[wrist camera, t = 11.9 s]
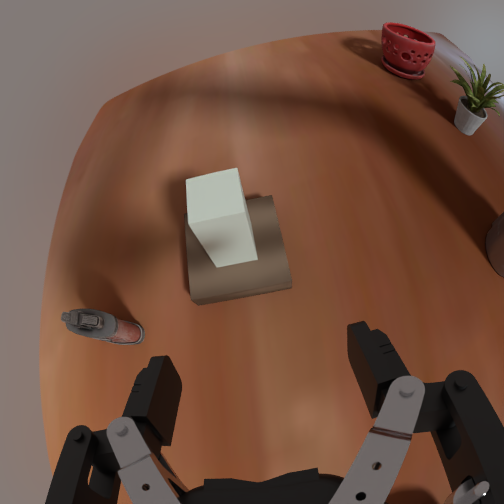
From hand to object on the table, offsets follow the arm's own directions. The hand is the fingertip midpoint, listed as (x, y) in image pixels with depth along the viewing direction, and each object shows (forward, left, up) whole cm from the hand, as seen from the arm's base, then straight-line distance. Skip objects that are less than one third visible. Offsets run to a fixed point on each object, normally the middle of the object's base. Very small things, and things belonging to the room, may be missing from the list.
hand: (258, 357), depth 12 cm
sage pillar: (-11, -10, -19) cm, 24 cm away
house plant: (-57, +22, -22) cm, 65 cm away
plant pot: (-71, +5, -22) cm, 74 cm away
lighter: (+6, -20, -22) cm, 31 cm away
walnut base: (-11, -10, -22) cm, 27 cm away
